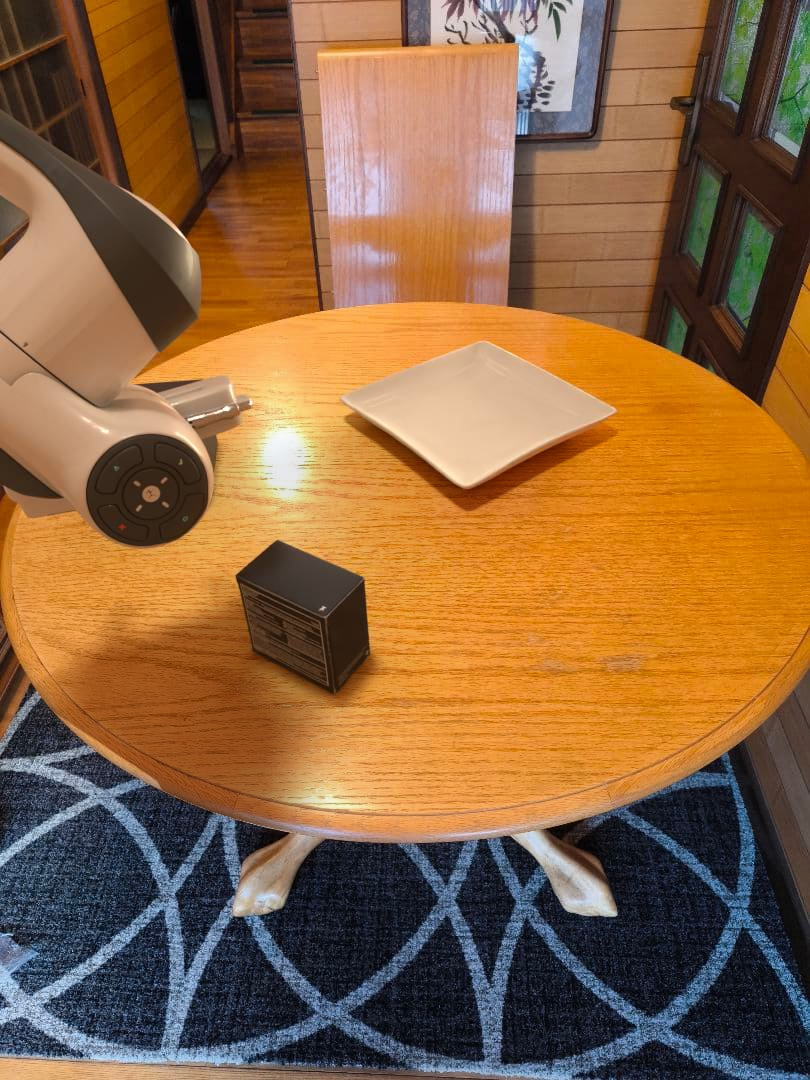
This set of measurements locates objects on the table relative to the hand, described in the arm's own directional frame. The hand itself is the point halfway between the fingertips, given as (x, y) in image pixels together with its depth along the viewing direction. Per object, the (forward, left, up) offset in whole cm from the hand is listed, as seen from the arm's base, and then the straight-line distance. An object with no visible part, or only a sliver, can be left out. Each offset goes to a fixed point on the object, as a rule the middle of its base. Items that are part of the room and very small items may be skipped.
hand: (115, 417), depth 70 cm
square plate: (+39, +26, -21) cm, 51 cm away
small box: (+16, -12, -21) cm, 29 cm away
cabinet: (-2, +20, -21) cm, 29 cm away
